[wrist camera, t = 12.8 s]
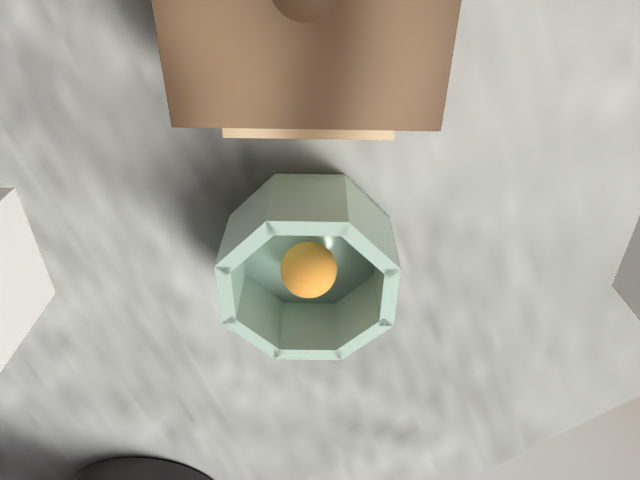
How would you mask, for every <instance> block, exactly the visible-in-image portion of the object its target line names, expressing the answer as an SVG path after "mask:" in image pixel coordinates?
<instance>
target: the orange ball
mask: <svg viewBox="0 0 640 480" xmlns="http://www.w3.org/2000/svg"><path fill="white" fill-rule="evenodd" d="M280 273H281V278H282V281H283V283H284V285H285V286H286V287H287V289H288V290H289V291H290V292H292V293H293V294H295V295H297V296H299V297H302V298H315V297H318V296H321V295H323V294H324V293H326V292H327V291H328V290H329V289H330V288H331V287H332V285H333V283H334V281H335V279H336V275H337V265H336V261H335V258H334V256H333V254H332V253H331V252H330V251H329V250H328V249H327V248H326V247H325V246H323V245H321V244H319V243H316V242H301V243H298V244H296V245H294V246H293V247H291V248H290V249H289V250H288V251H287V252H286V254H285V255H284V257H283V259H282V262H281V267H280Z"/></svg>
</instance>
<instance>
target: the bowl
mask: <svg viewBox="0 0 640 480" xmlns="http://www.w3.org/2000/svg"><path fill="white" fill-rule="evenodd" d="M301 242H316V243H319V244H321V245H323V246H325V247H326V248H327V249H328V250H329V251H330V252H331V253H332V254H333V256H334V258H335V261H336V265H337V275H336V279H335V281H334V283H333V285H332V287H331V288H330V289H329V290H328V291H327V292H326V293H324V294H323V295H321V296H318V297H315V298H302V297H299V296H297V295H295V294H293V293H292V292H290V291H289V290H288V289H287V287H286V286H285V285H284V283H283V281H282V278H281V273H280V267H281V262H282V259H283V257H284V255H285V254H286V252H287V251H288V250H289V249H290V248H291V247H293V246H294V245H296V244H298V243H301ZM214 270H215V278H216V285H217V293H218V300H219V308H220V315H221V322H222V324H223V325H224V326H226V327H227V328H229V329H230V330H232V331H233V332H235V333H236V334H238V335H239V336H241V337H242V338H244V339H245V340H246V341H248V342H249V343H251V344H252V345H254V346H255V347H257V348H258V349H260V350H261V351H263V352H264V353H266V354H267V355H269V356H270V357H271V358H273V359H297V360H342V359H344V358H345V357H347V356H348V355H350V354H351V353H353V352H354V351H356V350H358V349H359V348H361V347H362V346H364V345H365V344H367V343H368V342H370V341H371V340H373V339H374V338H376V337H377V336H379V335H380V334H382V333H384V332H385V331H387V330H388V329H390V328H391V327H393V326H394V318H395V311H396V303H397V296H398V288H399V281H400V273H401V267H400V262H399V258H398V253H397V248H396V244H395V239H394V234H393V230H392V225H391V220H390V217H389V216H388V215H387V214H386V213H385V212H384V211H383V210H381V209H380V208H379V207H378V206H377V205H376V204H375V203H374V202H373V201H372V200H371V199H370V198H369V197H368V196H367V195H366V194H365V193H364V192H363V191H362V190H361V189H360V188H359V187H357V186H356V185H355V184H354V183H353V182H352V181H351V180H350V179H349V178H348V177H347V176H346V175H345V174H274V175H273V176H272V177H270V178H269V179H268V180H267V181H266V182H265V183H264V184H263V185H262V186H261V187H260V188H259V189H258V190H256V191H255V192H254V193H253V194H252V195H251V196H250V197H249V198H248V199H247V200H246V201H245V202H243V203H242V204H241V205H240V206H239V207H238V208H237V209H236V210H235V211H234V212H233V213H232V214H230V216H229V219H228V222H227V226H226V229H225V232H224V235H223V239H222V242H221V245H220V249H219V252H218V255H217V259H216V262H215V265H214Z"/></svg>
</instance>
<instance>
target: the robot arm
mask: <svg viewBox="0 0 640 480" xmlns="http://www.w3.org/2000/svg"><path fill="white" fill-rule="evenodd" d="M612 286H613V287H614V289H615V290H616V291H617V292H618V294H619V295H620V296H621V297H622V299H623V300H624V301H625V302H626V304H627V305H628V306H629V307H630V309H631V310H632V311H633V312H634V313H635V315H636V316H637V317H638V318H639V320H640V217H639V219H638V222H637V224H636V227H635V229H634V232H633V234H632V237H631V239H630V242H629V244H628V247H627V249H626V252H625V254H624V257H623V259H622V262H621V264H620V267H619V269H618V272H617V274H616V277H615V279H614V282H613V284H612ZM55 293H56V292H55V290H54V287H53V284H52V282H51V279H50V277H49V274H48V272H47V269H46V266H45V264H44V261H43V259H42V256H41V254H40V251H39V248H38V246H37V243H36V241H35V238H34V236H33V233H32V230H31V228H30V225H29V223H28V220H27V218H26V215H25V213H24V210H23V207H22V205H21V202H20V200H19V197H18V195H17V192H16V189H15V188H0V372H1V370H2V369H3V368H4V366H5V365H6V363H7V362H8V360H9V359H10V358H11V356H12V355H13V353H14V352H15V350H16V349H17V347H18V346H19V345H20V343H21V342H22V340H23V339H24V337H25V336H26V335H27V333H28V332H29V330H30V329H31V327H32V326H33V324H34V323H35V322H36V320H37V319H38V317H39V316H40V314H41V313H42V311H43V310H44V309H45V307H46V306H47V304H48V303H49V301H50V300H51V299H52V297H53V296H54V294H55ZM72 480H211V479H210V478H208V477H206V476H205V475H203V474H201V473H199V472H197V471H195V470H193V469H190V468H188V467H185V466H182V465H179V464H175V463H172V462H167V461H162V460H156V459H149V458H118V459H111V460H106V461H102V462H98V463H95V464H92V465H90V466H88V467H86V468H84V469H82V470H81V471H80V472H78V473H77V474H76V475H75V476H74V477H73V478H72Z"/></svg>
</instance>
